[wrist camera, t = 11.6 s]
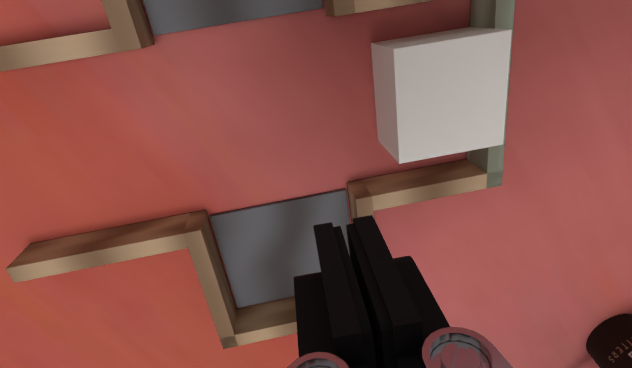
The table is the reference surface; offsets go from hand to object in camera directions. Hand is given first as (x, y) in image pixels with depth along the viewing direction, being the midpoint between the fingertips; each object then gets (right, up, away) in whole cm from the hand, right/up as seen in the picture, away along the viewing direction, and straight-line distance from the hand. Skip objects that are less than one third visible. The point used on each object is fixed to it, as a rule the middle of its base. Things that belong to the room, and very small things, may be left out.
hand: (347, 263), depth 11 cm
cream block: (+7, +9, +17) cm, 20 cm away
